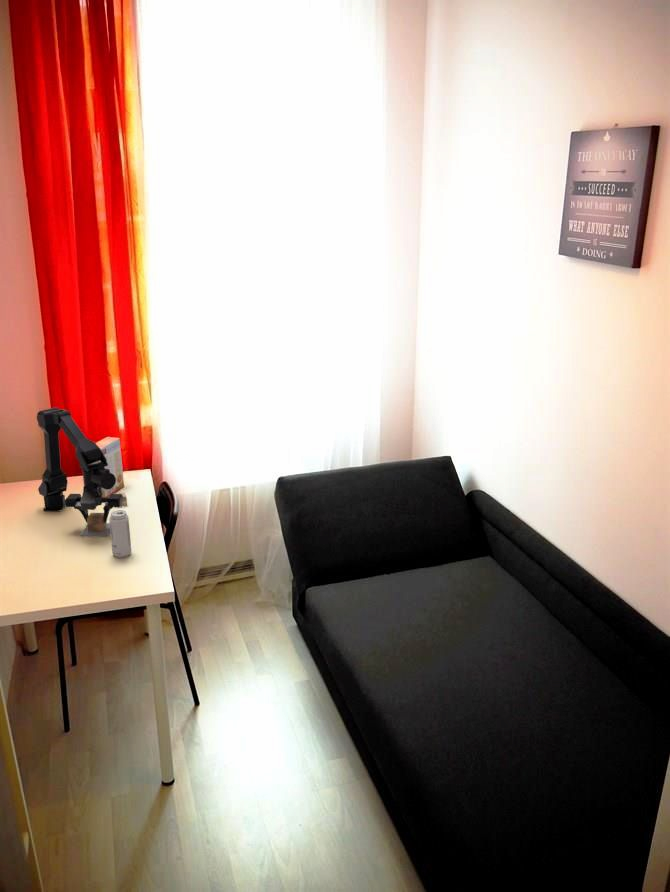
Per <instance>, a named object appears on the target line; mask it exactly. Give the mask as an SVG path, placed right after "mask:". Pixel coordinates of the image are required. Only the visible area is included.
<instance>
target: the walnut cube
mask: <svg viewBox="0 0 670 892" xmlns="http://www.w3.org/2000/svg"><path fill="white" fill-rule="evenodd" d="M106 523H107V522H106ZM106 523H104V512H90V513H89V514H88V518H87V523H86V526H87V527H88V532H103V530H104V529H105V527H106Z"/></svg>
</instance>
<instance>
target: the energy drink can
mask: <svg viewBox="0 0 670 892" xmlns="http://www.w3.org/2000/svg"><path fill="white" fill-rule="evenodd" d="M129 519H130V518H129V515H128V514H127V512H126V510H122V509H118V510H113V511H112V512H110V516H109V517H108V520H109V522H108V523H110V532H109V533H110V541H111V542H110V543H111V551H112V555H113V556H114V557H115V558H116V559H124V558H128V557H129V556H130V555H131V553H132V545H131V543H132V542H131V533H130V532H131V531H130V522H129V521H130V520H129Z"/></svg>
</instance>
